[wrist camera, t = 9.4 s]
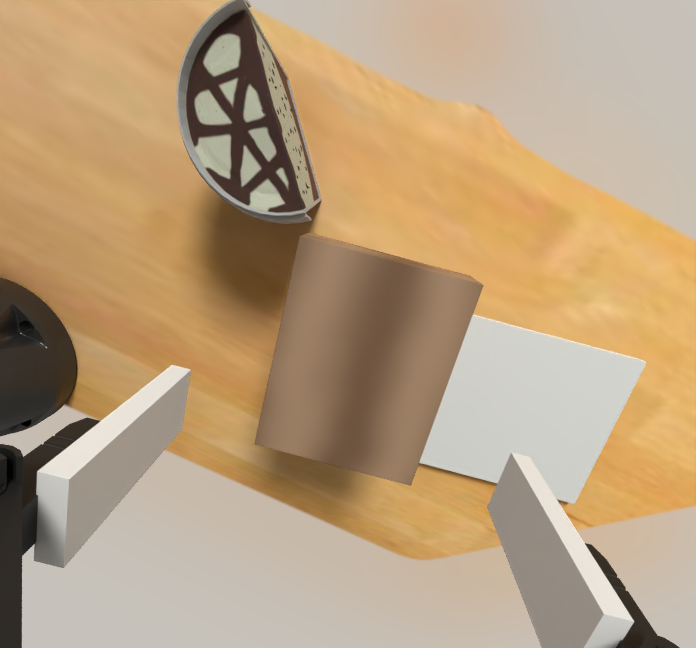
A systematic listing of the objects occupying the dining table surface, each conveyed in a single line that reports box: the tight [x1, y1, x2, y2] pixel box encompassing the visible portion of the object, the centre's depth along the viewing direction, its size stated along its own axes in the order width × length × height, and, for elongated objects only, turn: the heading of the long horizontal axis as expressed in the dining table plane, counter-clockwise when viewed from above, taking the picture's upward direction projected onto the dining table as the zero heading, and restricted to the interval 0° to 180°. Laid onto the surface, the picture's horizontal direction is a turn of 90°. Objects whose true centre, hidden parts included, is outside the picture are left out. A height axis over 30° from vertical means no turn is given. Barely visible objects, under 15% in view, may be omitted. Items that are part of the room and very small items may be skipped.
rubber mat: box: [419, 315, 647, 504], centre depth 36 cm, size 16×15×1 cm
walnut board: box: [255, 233, 483, 486], centre depth 24 cm, size 10×13×3 cm
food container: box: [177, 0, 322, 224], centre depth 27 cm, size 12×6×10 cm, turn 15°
